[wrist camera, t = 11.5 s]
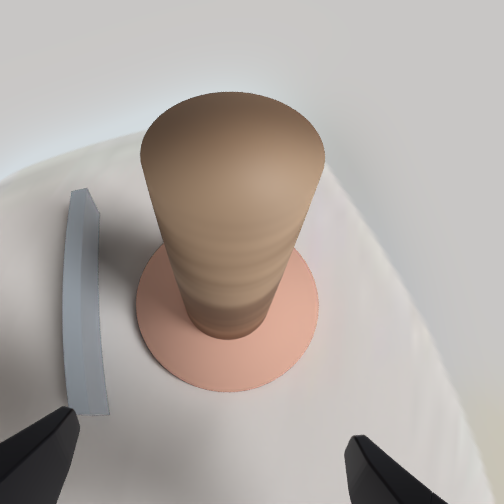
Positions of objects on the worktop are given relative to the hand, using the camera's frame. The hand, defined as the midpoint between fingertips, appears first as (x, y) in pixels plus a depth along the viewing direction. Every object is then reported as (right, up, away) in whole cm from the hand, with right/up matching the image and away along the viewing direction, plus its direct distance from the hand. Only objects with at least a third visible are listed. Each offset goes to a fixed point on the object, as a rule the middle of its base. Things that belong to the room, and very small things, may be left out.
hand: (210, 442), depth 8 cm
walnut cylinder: (0, +3, +10) cm, 11 cm away
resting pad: (0, +3, +11) cm, 11 cm away
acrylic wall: (-9, +2, +10) cm, 14 cm away
